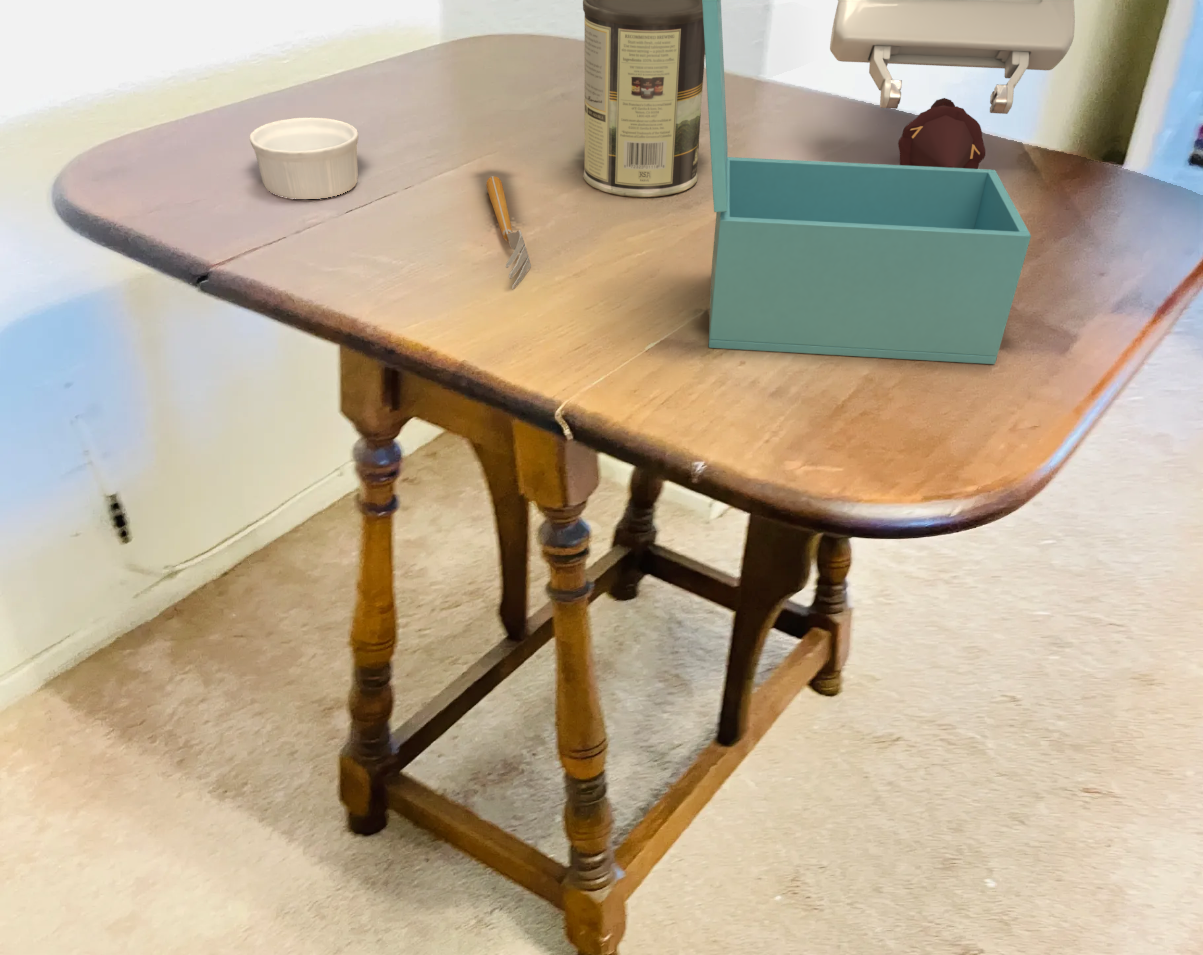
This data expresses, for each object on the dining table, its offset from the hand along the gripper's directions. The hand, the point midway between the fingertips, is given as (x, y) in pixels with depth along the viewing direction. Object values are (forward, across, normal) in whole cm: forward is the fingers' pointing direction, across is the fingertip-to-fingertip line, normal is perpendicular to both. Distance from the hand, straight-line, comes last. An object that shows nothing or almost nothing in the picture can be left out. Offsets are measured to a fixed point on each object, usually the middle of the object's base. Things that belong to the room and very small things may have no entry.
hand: (945, 107), depth 93 cm
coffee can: (+7, -26, +2) cm, 27 cm away
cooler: (+25, -10, -16) cm, 31 cm away
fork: (+17, -36, -8) cm, 40 cm away
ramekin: (+11, -54, -2) cm, 55 cm away
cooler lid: (+12, -20, -29) cm, 38 cm away
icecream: (+6, 0, +3) cm, 6 cm away
